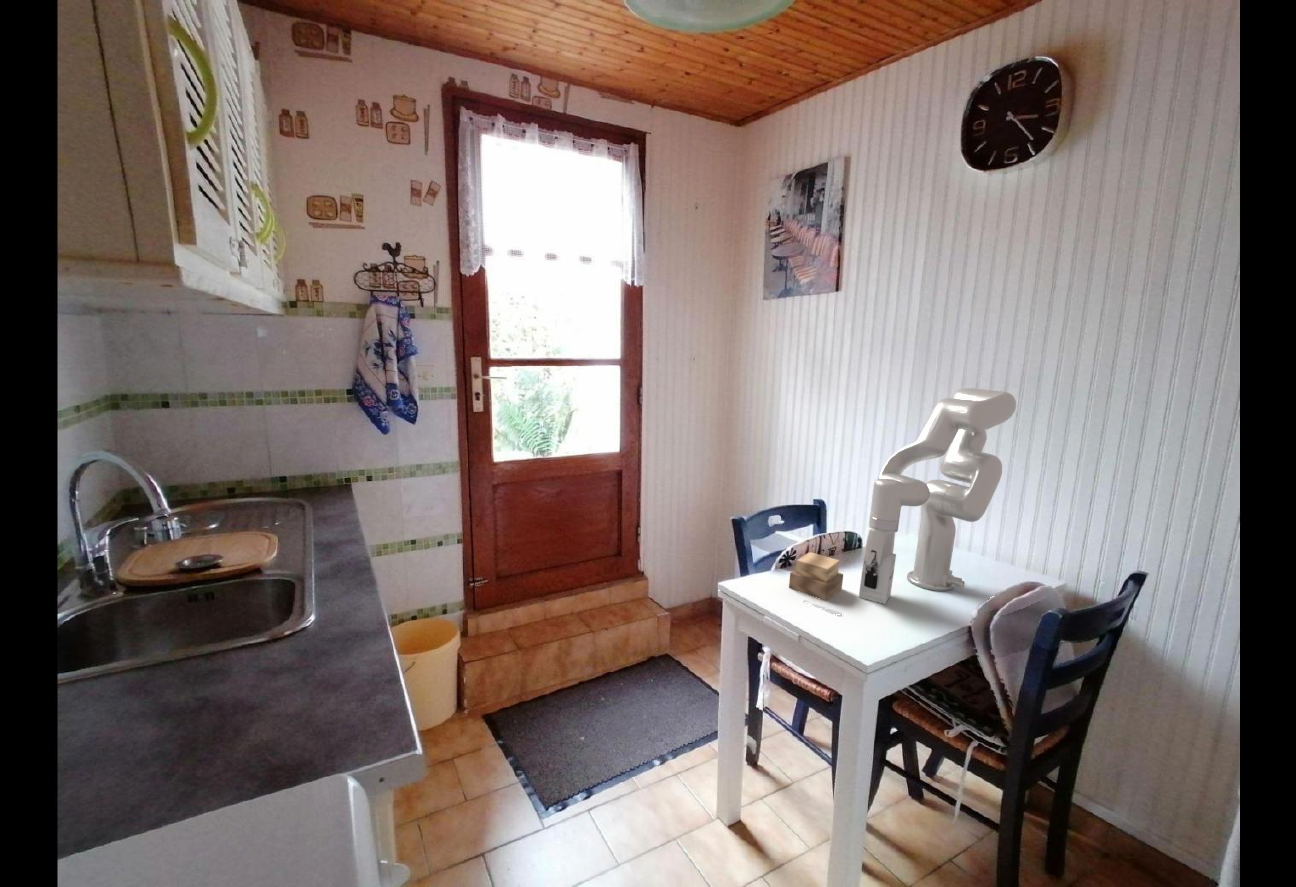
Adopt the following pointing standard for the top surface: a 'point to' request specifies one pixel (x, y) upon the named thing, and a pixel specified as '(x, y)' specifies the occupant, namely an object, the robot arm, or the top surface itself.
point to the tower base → (816, 585)
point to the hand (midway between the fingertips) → (875, 582)
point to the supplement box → (879, 581)
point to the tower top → (817, 567)
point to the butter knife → (827, 609)
